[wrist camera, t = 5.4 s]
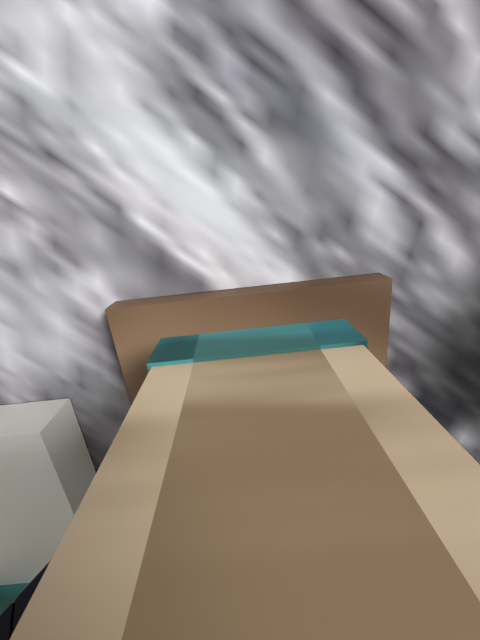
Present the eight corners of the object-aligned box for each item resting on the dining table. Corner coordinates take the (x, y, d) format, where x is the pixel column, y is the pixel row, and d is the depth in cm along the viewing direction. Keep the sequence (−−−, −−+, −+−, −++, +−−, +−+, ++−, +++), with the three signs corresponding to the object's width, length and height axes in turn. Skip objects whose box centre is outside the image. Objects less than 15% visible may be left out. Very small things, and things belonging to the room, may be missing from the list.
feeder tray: (151, 627, 19) (142, 676, 17) (-6, 642, 19) (-34, 692, 17) (69, 398, 13) (39, 432, 11) (-159, 421, 13) (-229, 459, 11)
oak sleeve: (342, 462, 10) (543, 924, 4) (190, 477, 10) (113, 956, 4) (344, 318, 8) (761, 720, 2) (160, 338, 8) (-95, 787, 2)
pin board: (364, 530, 16) (436, 704, 10) (179, 548, 16) (151, 728, 11) (379, 273, 11) (526, 336, 6) (115, 301, 11) (0, 391, 6)
